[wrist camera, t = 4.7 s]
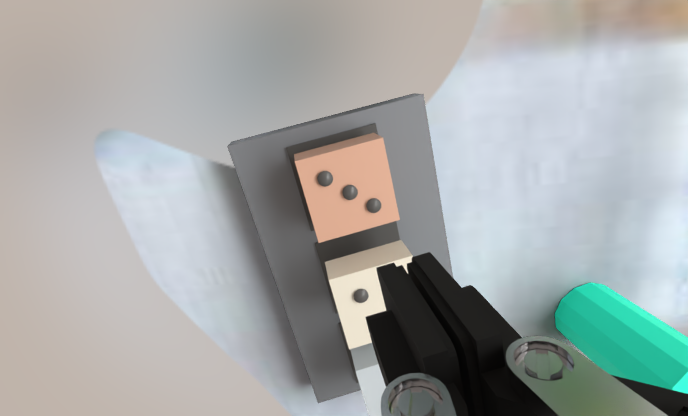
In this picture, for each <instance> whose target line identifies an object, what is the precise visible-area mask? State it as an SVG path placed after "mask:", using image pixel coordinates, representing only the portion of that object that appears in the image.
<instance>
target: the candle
mask: <svg viewBox="0 0 688 416" xmlns="http://www.w3.org/2000/svg"><path fill="white" fill-rule="evenodd" d="M555 324H556V328H557V329H558V330H559V331H560V332H561V333H562V334H563V335H564V336H565V337H566V338H567V339H568V340H569V341H571V342H572V343H573V344H574V345H575V346H576V347H577V348H578V349H579V350H580V351H582V352H583V353H584V354H585V355H586V356H587V357H588V358H589V359H590V360H592V361H593V362H594V363H595V364H596V365H597V366H599V367H600V368H602V369H603V370H604V371H606V372H607V373H609V374H610V375H614V376H618V377H622V378H626V379H630V380H634V381H638V382H642V383H646V384H650V385H654V386H658V387H662V388H666V389H670V390H674V391H678V392H683V393H687V394H688V337H686V336H685V335H683V334H681V333H680V332H678V331H677V330H675V329H674V328H672V327H670V326H669V325H667V324H666V323H664V322H662V321H661V320H659V319H658V318H656V317H654V316H653V315H651V314H650V313H648V312H647V311H645V310H643V309H642V308H640V307H639V306H637V305H635V304H634V303H632V302H631V301H629V300H627V299H626V298H624V297H623V296H621V295H619V294H618V293H616V292H615V291H613V290H612V289H610V288H608V287H607V286H605V285H602V284H596V283H587V284H584V285H581V286H579V287H576V288H574V289H573V290H571V291H570V292H569V293H568V294H567V295H566V296H565V297H564V298H563V299H562V300H561V301H560V303H559V306H558V308H557V310H556V312H555Z"/></svg>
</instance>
